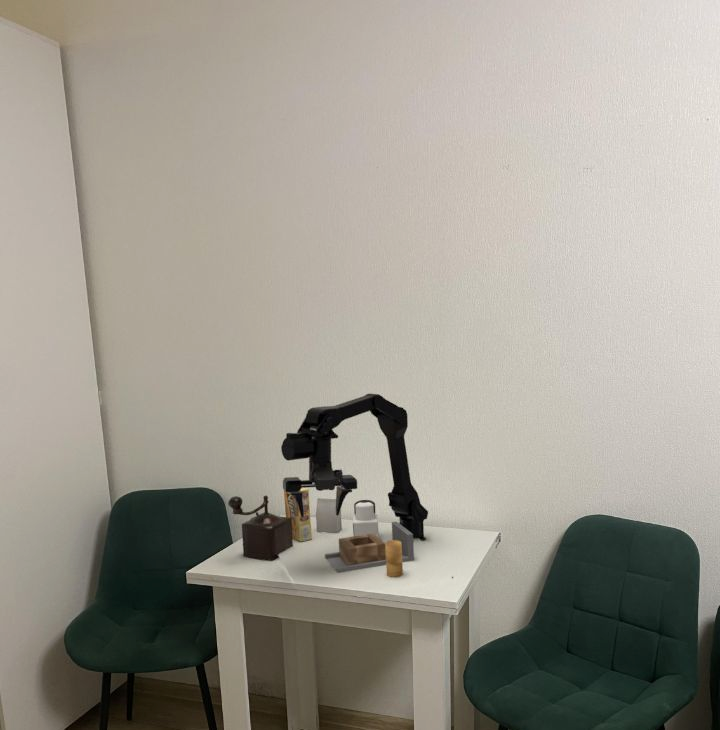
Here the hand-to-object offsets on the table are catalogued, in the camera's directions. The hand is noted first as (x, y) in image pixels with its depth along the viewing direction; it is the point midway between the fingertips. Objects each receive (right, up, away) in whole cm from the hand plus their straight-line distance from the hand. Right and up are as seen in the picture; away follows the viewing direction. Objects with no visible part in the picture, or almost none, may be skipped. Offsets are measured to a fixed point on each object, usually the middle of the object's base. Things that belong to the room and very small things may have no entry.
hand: (319, 516), depth 187 cm
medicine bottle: (+12, -12, +21) cm, 27 cm away
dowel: (+19, -14, -7) cm, 25 cm away
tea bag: (+1, -12, +33) cm, 35 cm away
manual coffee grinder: (-17, -14, +14) cm, 26 cm away
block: (+11, -12, +4) cm, 17 cm away
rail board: (+13, -13, +4) cm, 19 cm away
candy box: (-8, -13, +28) cm, 32 cm away
